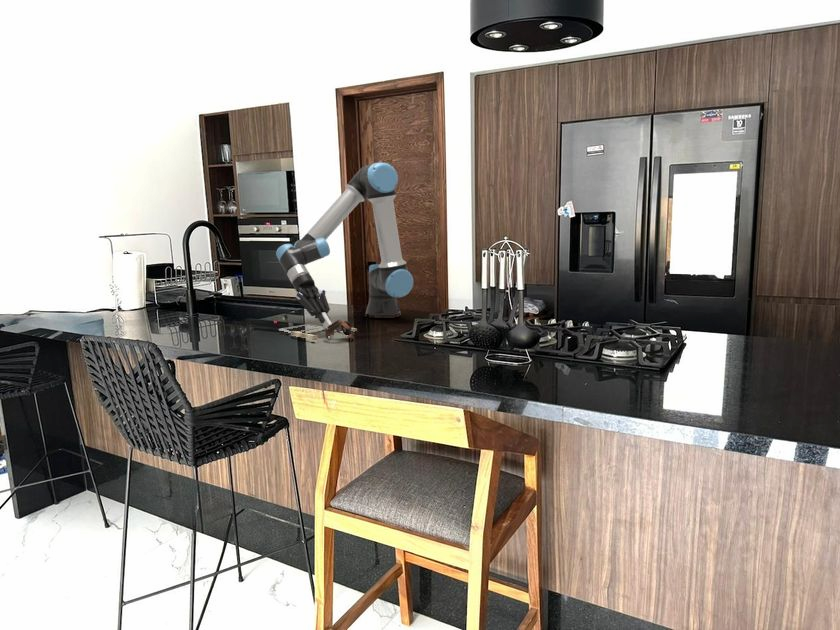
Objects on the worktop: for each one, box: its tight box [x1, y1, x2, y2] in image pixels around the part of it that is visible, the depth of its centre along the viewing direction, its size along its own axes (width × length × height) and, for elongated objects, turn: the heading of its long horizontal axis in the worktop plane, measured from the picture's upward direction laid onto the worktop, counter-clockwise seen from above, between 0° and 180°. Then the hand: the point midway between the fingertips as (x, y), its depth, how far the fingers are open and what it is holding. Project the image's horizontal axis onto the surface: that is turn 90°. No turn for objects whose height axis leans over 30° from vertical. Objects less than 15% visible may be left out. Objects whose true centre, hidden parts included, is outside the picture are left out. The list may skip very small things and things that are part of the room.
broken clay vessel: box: [323, 319, 354, 339], centre depth 220 cm, size 12×10×8 cm
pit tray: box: [277, 323, 325, 333], centre depth 236 cm, size 10×14×2 cm
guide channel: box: [290, 327, 358, 341], centre depth 226 cm, size 14×19×2 cm
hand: (330, 328), depth 223 cm, fingers closed
